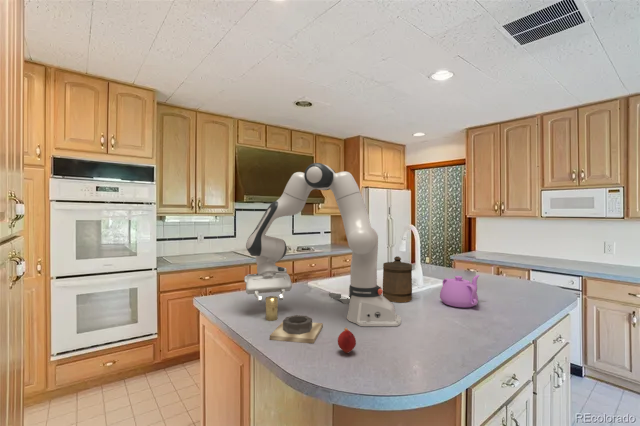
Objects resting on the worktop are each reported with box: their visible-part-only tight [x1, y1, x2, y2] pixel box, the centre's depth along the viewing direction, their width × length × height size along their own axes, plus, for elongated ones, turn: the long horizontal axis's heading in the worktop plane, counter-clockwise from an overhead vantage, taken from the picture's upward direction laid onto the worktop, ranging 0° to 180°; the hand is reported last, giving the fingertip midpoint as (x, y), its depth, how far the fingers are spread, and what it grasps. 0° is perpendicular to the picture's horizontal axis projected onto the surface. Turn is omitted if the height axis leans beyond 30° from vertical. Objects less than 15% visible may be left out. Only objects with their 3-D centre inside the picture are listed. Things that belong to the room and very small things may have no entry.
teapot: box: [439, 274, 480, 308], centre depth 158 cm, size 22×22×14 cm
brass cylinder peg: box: [265, 295, 279, 322], centre depth 136 cm, size 5×5×9 cm
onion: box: [337, 327, 357, 354], centre depth 103 cm, size 6×6×8 cm
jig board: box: [269, 314, 324, 344], centre depth 120 cm, size 16×16×5 cm
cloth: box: [328, 292, 350, 305], centre depth 167 cm, size 26×14×2 cm, turn 13°
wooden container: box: [382, 256, 413, 303], centre depth 167 cm, size 15×15×22 cm
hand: (270, 300), depth 138 cm, fingers open, 8 cm apart
